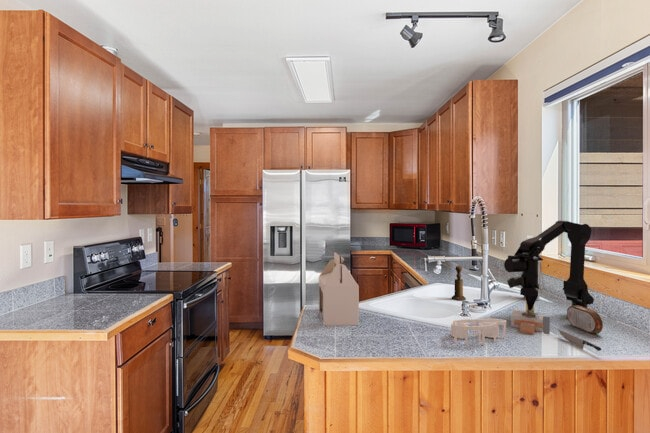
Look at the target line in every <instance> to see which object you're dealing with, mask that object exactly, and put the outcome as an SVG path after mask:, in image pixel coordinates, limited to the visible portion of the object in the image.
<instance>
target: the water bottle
mask: <svg viewBox="0 0 650 433" xmlns="http://www.w3.org/2000/svg"><path fill="white" fill-rule="evenodd" d="M540 254H541V253H540ZM540 254H539V256H540V257H541V255H540ZM542 263H543V260H542V261H538V284H539V289H538V291H539V293H538V297H537V299H536V301H537V300H538V301H539V300H540V291H544V279H543V278H544V276H543V269H542ZM541 282H542V288H541ZM536 301H535V302H536Z"/></svg>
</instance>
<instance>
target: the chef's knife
mask: <svg viewBox="0 0 650 433" xmlns="http://www.w3.org/2000/svg"><path fill="white" fill-rule="evenodd" d="M557 331H558V332H559V334H560V335H561V336H562V337H563V338H564V339H565V340H566V341H567V342H569V343H570V342H571V343H570V344H572V343H573V345H575V346H576V347H579V348H580V349H584V347H585V345H586V346H588V347H590V348H591V347H592V348H594V349H595V350H596V351H598V352H599V351H601V350H602V348H601V347H600V346H598V345H596V344H594V343H591V342H588V341H587V340H584V339H583V338H580V337H578V336H575V335H573V334H571V333H568V332H566V331H564V330H561V329H558V328H557Z"/></svg>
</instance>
